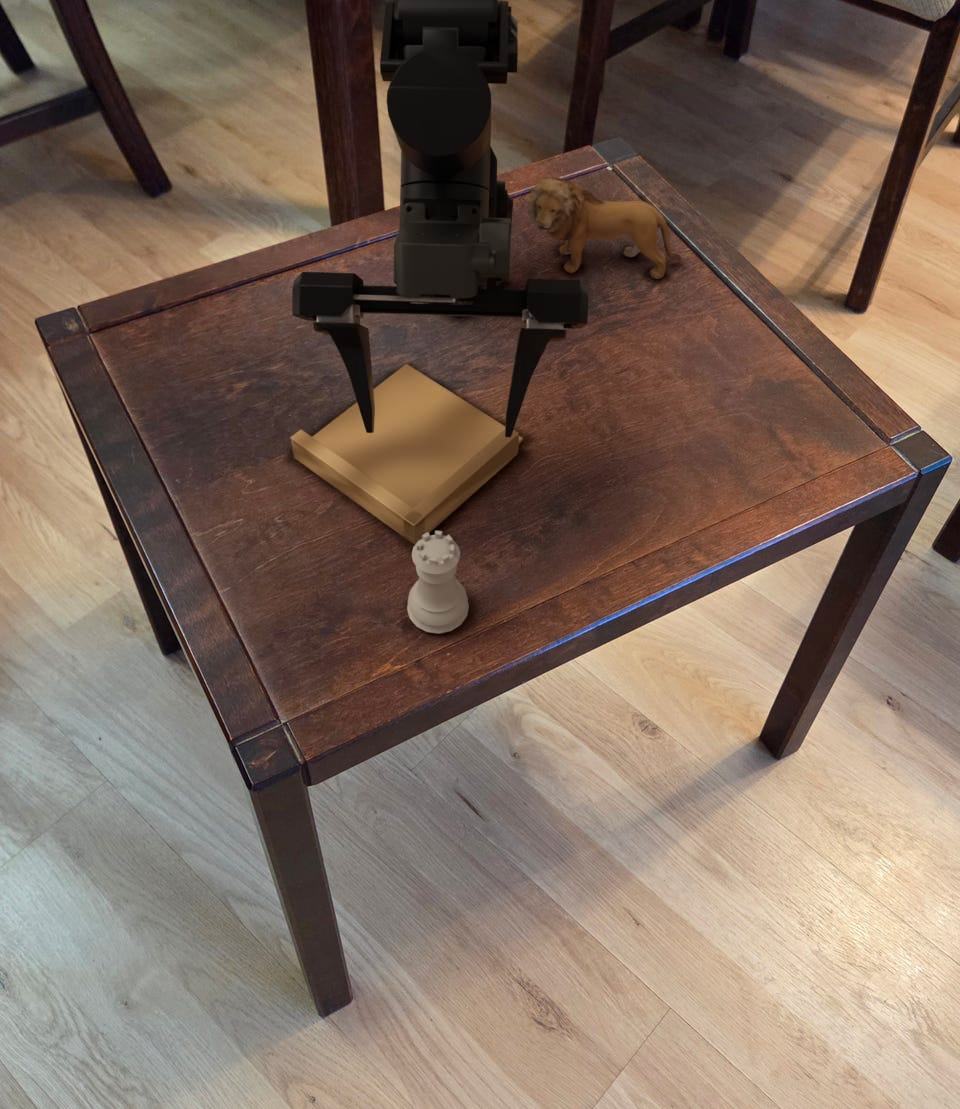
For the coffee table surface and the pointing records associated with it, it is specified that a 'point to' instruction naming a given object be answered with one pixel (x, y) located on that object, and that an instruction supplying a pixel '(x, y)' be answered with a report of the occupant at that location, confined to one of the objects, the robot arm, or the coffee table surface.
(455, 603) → the rook chess piece
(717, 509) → the coffee table surface
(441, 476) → the corner guide
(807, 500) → the coffee table surface
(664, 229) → the lion figurine
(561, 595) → the coffee table surface
